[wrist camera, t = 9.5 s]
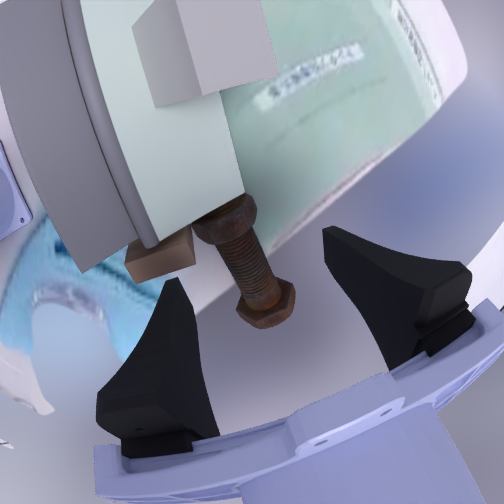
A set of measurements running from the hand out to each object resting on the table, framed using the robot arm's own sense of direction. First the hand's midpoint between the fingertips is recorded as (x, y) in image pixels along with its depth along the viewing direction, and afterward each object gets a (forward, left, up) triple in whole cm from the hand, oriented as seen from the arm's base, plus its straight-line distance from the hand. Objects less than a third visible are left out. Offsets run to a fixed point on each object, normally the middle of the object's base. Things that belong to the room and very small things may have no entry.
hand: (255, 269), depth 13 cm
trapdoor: (-5, +10, -7) cm, 13 cm away
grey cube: (-1, +10, -6) cm, 12 cm away
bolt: (0, -4, -11) cm, 12 cm away
